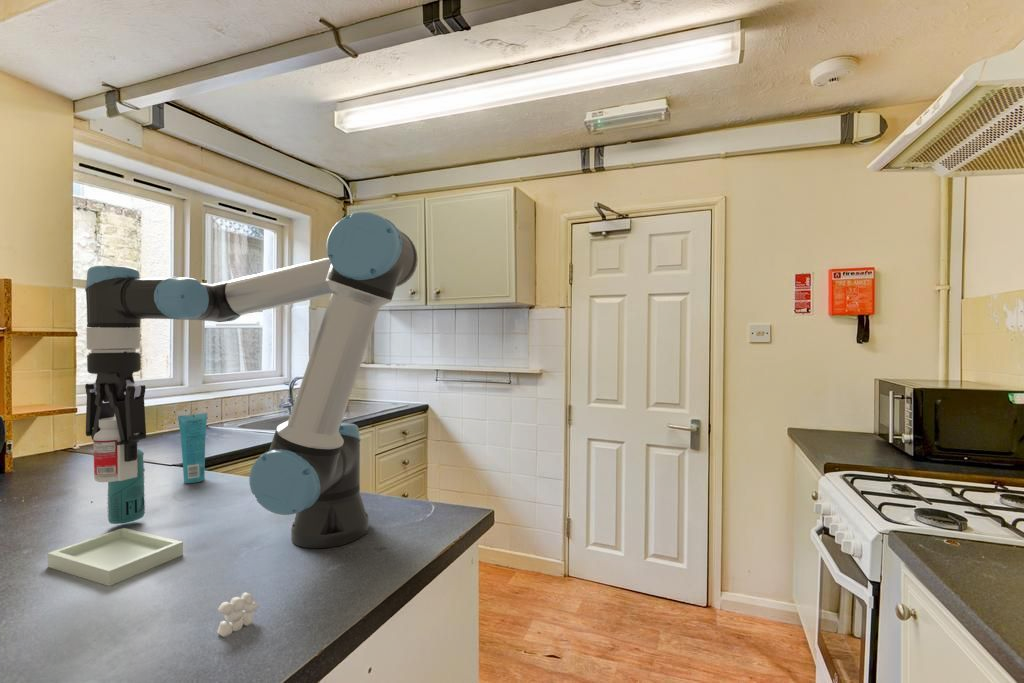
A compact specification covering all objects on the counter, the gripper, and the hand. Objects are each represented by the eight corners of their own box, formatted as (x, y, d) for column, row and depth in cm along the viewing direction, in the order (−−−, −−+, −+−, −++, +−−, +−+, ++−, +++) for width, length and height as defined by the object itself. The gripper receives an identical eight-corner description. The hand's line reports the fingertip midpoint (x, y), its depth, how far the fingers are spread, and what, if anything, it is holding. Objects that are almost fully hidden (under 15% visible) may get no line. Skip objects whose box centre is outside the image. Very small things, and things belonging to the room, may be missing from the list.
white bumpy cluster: (221, 638, 64) (223, 605, 65) (215, 635, 65) (218, 602, 65) (257, 623, 68) (259, 591, 69) (251, 620, 69) (254, 588, 69)
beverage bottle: (124, 532, 100) (122, 438, 99) (98, 530, 101) (97, 436, 101) (153, 520, 106) (152, 431, 106) (129, 518, 107) (128, 430, 107)
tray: (183, 554, 89) (182, 541, 89) (109, 586, 78) (109, 571, 78) (123, 540, 96) (123, 527, 96) (47, 566, 85) (47, 553, 85)
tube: (202, 476, 139) (201, 411, 139) (212, 478, 137) (211, 412, 137) (175, 483, 133) (174, 415, 133) (184, 485, 131) (184, 416, 130)
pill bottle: (134, 471, 91) (134, 414, 91) (140, 477, 87) (139, 417, 87) (91, 478, 87) (91, 418, 87) (96, 485, 82) (95, 422, 82)
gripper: (170, 351, 86) (171, 476, 87) (106, 350, 94) (107, 466, 94) (123, 352, 79) (125, 488, 80) (58, 351, 87) (60, 476, 87)
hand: (115, 476), depth 87 cm, fingers closed on pill bottle, 6 cm apart
